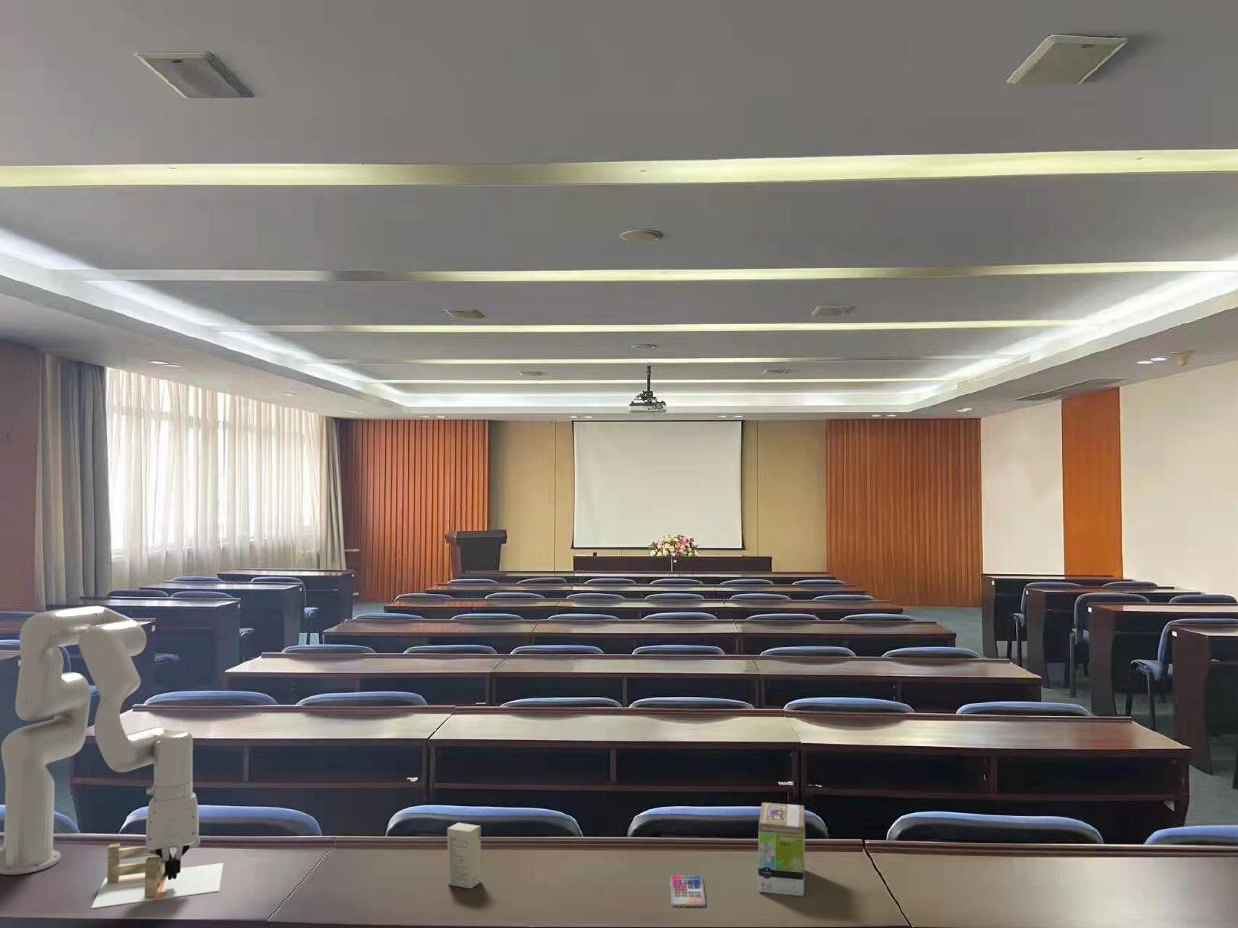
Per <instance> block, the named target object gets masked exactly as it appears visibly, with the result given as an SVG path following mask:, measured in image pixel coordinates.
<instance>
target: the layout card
mask: <svg viewBox="0 0 1238 928" xmlns="http://www.w3.org/2000/svg"><path fill="white" fill-rule="evenodd" d="M223 869H224V862H220V863H213V864H205V865H203V864H202V865H197V866H188V867H181V871H180V873H177V877H176V879H171V880H168V876H165V877H161V882H160V884H158V889H157V894H156V896H155V897H145V873H137V874H130V875H122V876H119V881H118V883H113V884H107V877H105V878H104V880H103V882H102V884H101V886H100V888H99V891H98V892H97V894H96V898H95V899H94V902H93V903H92V906H91V909H93V910H94V909H101V908H107V907H108V908H109V907H115V906H121V905H129V904H137V903H144V902H152V901H159V900H167V899H173V898H182V897H189V896H194V895H195V896H197V895H202V894H203V895H205V894H211V893H216V892H217V893H218V892H220V888H221V882H222V875H223Z"/></svg>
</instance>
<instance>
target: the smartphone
mask: <svg viewBox="0 0 1238 928" xmlns="http://www.w3.org/2000/svg"><path fill="white" fill-rule="evenodd" d="M670 887H671V889H670V906H671V905H673V906H684V907H683V908H687V907H690V908H691V907H703V908H705V906H706V907H707V901H706V900H707V899H706V894H705V893H706V892H705V882H704V878H703V876H701V875H696V874H695V875H691V874H690V875H688V874H687V875H680V874H679V875H677V874H676V875H672V876H670V877H669V888H670ZM673 906H672V907H673Z"/></svg>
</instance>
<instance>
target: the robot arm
mask: <svg viewBox="0 0 1238 928" xmlns="http://www.w3.org/2000/svg"><path fill="white" fill-rule="evenodd" d="M75 645H78V649H79V651H80V653H81V657H82V658H83V660H84V663H85V665H86V667H87V670H88V672H89V675H90V677H91V680H92V681H93V684H94V686H95V688H96V690H97V693H98V696H99V703H98V706H97V709H96V712H95V718H94V725H93V730H94V731H93V732H94V734H93V735H94V738H95V741H96V744H97V746H98V749H99V752H100V754H101V756H102V758H103V759H104V761H105V763H106V764H107V766H108V767H109V768H110V769H112V771H115V772H117V773H126V772H129V771H133V770H136V769H139V768H142V767H146V766H148V765H152V764H153V785H152V786H151V787H147V788H146V792H145V793H146V795H148V796H149V795H150V796H152V798H151V799H150V800H149V803H148V807H147V815H146V827H145V828H146V829H145V846H146V848H145V853H151V854H157V855H158V856H160V857H161V858H162V859H163V860H164V861H165V875H168V880H171V879H176V877H177V873H180V871H181V868H182V866H181V865H182V863H181V861H182V859H181V858H182V857H183V856H184V855H185V853H187V852H188V851H189V850H190V849H195V848H197V847H199V846H200V844H201V839H200V837H199V836H200V835H199V833H200V832H199V831H200V817H199V816H200V815H199V807H198V798H197V795H196V792H193V765H194V764H193V762H194V760H193V756H194V755H193V752H194V751H193V746H194V745H193V744H194V743H193V741H194V740H193V739H194V738H193V735H192V733H191V732H189V731H187V730H171V729H169V728H167V727H163V726H154V727H150V728H146V729H143V730H139V731H135V732H131V733H129V734H127V733H126V732H125V729H124V727H123V723H122V721H121V710H122V709H121V707H122V704H123V703H124V702H125V700H126V698H128V697H130V695H132V694H133V693H134V692H135V691H137V690H138V689H139V687H140V685H141V683H142V680H141V677H140V675H139V673H138V671H137V668H136V666H135V664H134V661H133V659H132V657H134V656H137V655H139V654H140V653H142V652H143V651H144V649H145V647H146V645H147V634H146V631H145V630H144V628H143V627H142V625H141V624H139V622H137V621H136V620H134V619H132V618H130V617H129V616H126V615H124V614H121V613H120V612H119V613H118V612H117V611H115V610H112V609H111V608H108V607H105V606H102V605H89V606H80V607H79V606H78V607H70V608H60V609H53V610H48V611H43V612H39V613H36V614H35V615H32V616H30V617H29V618H27V620H25V622H24V623H23V625H22V627H21V629H20V634H19V649H20V651H19V652H20V666H19V671H18V679H17V687H16V695H15V706H14V707H15V713H16V714H17V717H19V718H20V719H21V720H23V721H27V722H33V721H34V722H35V721H40V720H45V719H46V721H41V722H38V723H33V724H29V725H26V726H22V727H20V728H17V729H15V730H13V731H12V732H10V733H9V734H8V735H7V736H6V737H5V738H4V740H3V741H2V744H1V748H0V749H1V751H0V752H1V758H2V765H3V768H4V769H3V770H4V777H5V792H4V793H5V796H4V797H5V798H4V799H5V805H4V807H5V808H4V830H3V831H4V832H3V833H4V835H3V837H4V838H3V846H1V847H0V875H6V876H7V875H8V876H9V875H10V876H12V875H13V876H15V875H24V874H29V873H30V874H31V873H34V872H38V871H42V870H45V869H47V868H50V867H52V866H54V865H55V864H57V863H58V862H59V861H60V860H61V852H60V851H58V850H55V849H54V825H55V824H54V823H55V821H54V820H55V818H54V817H55V789H56V788H55V786H56V785H55V780H54V777H53V776H52V774H51V772H50V771H49V770H48V768H47V764H50V763H53V762H56V761H59V760H62V759H65V758H69V757H73V756H74V755H76V754H77V753H79V752H80V750H81V749H82V748H83V746H84V743H85V741H86V737H87V730H88V723H89V722H88V721H89V715H90V707H91V698H92V691H91V687H90V684H89V682H88V680H87V678H86V677H85V676H84V675H82V674H81V673H80V672H79V673H78V672H73V671H72V672H71V671H70V672H63V670H64V664H65V663H64V661H65V660H64V656H63V654H62V651H61V650H60V647H61V648H62V647H68V646H75ZM49 718H53V719H50V720H47V719H49ZM170 848H176V849H175V850H176V851H175V853H174V854H173V855H172V853H171V849H170Z"/></svg>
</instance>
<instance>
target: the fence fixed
mask: <svg viewBox="0 0 1238 928" xmlns="http://www.w3.org/2000/svg"><path fill="white" fill-rule="evenodd" d="M145 848H146V845H142V846H141V845H140V846H133V847H132V846H131V847H125V848H124V847H123V848H121V843H119V842H118V843H112V844H109V845H108V847H107V875H106V876H107V877H106V878H107V884H113V883H118V881H119V876H123V875H131V874H139V873H145V861H140V862H133V863H126V864H125V863H123V864H120V861H121V860H126V859H136V858H145V857H154V856H155V854H151V853H145ZM162 862H165V861H164V860H162ZM162 862H161V863H162ZM165 876H168V875H165V873H164V874H163V876H162V877H165Z"/></svg>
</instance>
